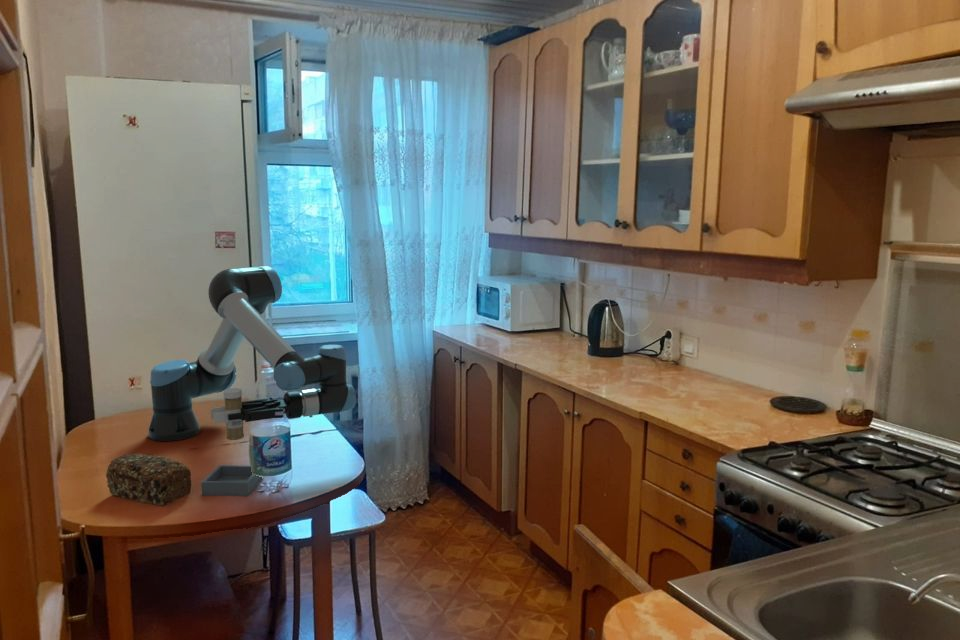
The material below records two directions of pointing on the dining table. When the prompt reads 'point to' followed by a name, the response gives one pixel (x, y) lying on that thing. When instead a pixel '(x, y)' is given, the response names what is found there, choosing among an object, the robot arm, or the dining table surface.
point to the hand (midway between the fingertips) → (212, 415)
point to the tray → (230, 481)
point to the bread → (148, 478)
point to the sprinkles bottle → (231, 403)
